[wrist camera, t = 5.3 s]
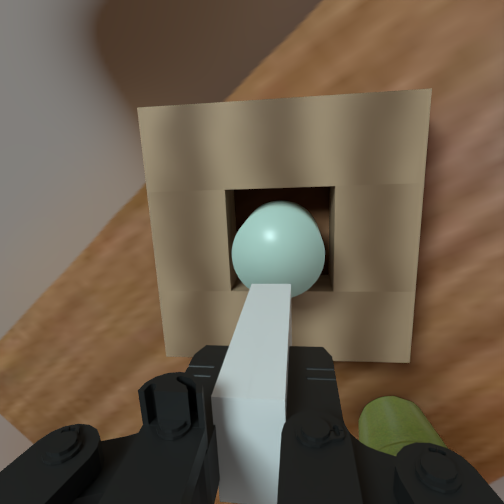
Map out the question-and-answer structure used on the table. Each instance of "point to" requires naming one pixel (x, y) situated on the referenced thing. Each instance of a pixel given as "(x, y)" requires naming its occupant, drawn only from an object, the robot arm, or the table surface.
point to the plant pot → (395, 425)
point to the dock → (286, 176)
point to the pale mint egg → (279, 247)
